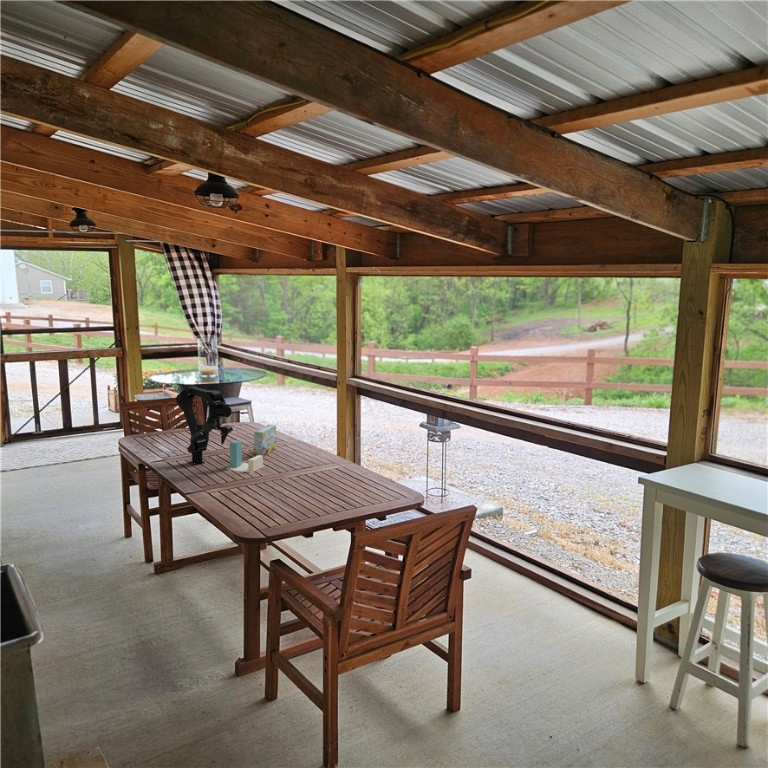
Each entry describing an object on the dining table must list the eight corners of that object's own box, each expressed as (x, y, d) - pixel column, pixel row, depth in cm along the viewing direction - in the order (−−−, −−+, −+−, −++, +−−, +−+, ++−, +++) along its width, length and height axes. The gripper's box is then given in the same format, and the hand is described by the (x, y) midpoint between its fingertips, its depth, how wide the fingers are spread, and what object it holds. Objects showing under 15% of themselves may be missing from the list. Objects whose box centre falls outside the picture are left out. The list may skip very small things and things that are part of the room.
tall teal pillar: (230, 466, 335) (229, 442, 333) (235, 463, 339) (235, 440, 337) (236, 467, 333) (236, 443, 331) (241, 464, 338) (241, 441, 336)
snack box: (262, 458, 356) (262, 432, 354) (253, 457, 357) (253, 431, 355) (276, 449, 377) (276, 424, 375) (267, 448, 378) (267, 423, 376)
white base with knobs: (225, 470, 330) (225, 457, 329) (239, 464, 344) (239, 451, 343) (251, 474, 326) (251, 460, 325) (264, 467, 339) (264, 454, 338)
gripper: (189, 415, 326) (190, 445, 329) (221, 419, 321) (221, 449, 323) (202, 412, 337) (202, 440, 339) (233, 415, 331) (233, 444, 334)
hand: (214, 443), depth 334 cm, fingers open, 9 cm apart
